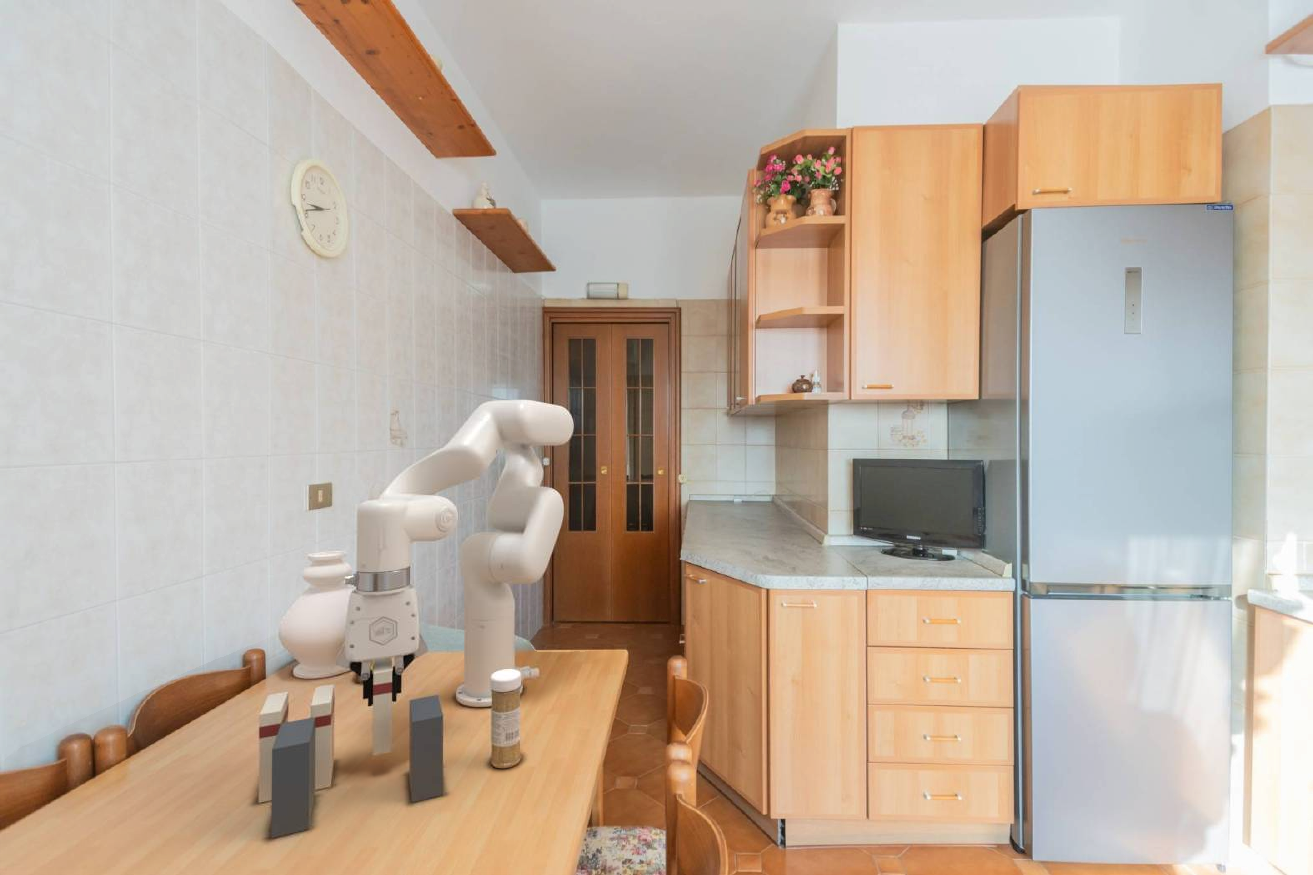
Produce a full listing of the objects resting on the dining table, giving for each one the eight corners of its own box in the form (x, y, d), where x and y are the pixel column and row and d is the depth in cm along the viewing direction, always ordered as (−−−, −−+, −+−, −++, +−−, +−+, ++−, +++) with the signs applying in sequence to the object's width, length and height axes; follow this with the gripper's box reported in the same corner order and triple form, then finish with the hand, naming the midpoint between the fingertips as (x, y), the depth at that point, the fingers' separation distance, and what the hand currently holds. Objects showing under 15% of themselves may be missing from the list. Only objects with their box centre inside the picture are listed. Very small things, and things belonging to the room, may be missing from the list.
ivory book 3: (390, 730, 91) (391, 655, 91) (391, 751, 84) (392, 670, 85) (372, 734, 90) (373, 657, 90) (372, 755, 83) (373, 673, 84)
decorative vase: (290, 658, 131) (291, 549, 131) (375, 648, 137) (376, 544, 137) (267, 689, 114) (268, 564, 115) (366, 676, 120) (367, 557, 121)
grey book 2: (438, 767, 86) (438, 694, 86) (443, 795, 79) (443, 715, 79) (409, 774, 84) (409, 699, 84) (411, 803, 77) (412, 721, 77)
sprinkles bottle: (517, 750, 90) (517, 665, 91) (523, 765, 86) (524, 676, 87) (487, 757, 88) (488, 670, 89) (493, 772, 84) (493, 681, 85)
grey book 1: (314, 796, 79) (315, 716, 79) (308, 829, 72) (309, 741, 72) (280, 804, 77) (281, 722, 77) (271, 838, 70) (271, 749, 70)
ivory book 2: (334, 762, 87) (334, 683, 88) (330, 786, 81) (331, 701, 81) (315, 766, 86) (315, 686, 86) (309, 791, 80) (310, 705, 80)
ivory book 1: (288, 772, 85) (288, 691, 85) (280, 798, 78) (281, 710, 79) (267, 776, 84) (268, 694, 84) (258, 803, 77) (259, 714, 78)
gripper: (320, 591, 81) (318, 722, 80) (441, 579, 88) (440, 699, 87) (325, 580, 87) (323, 701, 87) (437, 570, 95) (436, 682, 94)
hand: (382, 699), depth 87 cm, fingers closed on ivory book 3, 2 cm apart
